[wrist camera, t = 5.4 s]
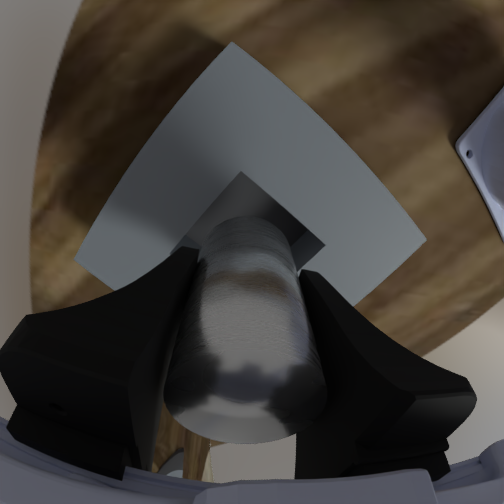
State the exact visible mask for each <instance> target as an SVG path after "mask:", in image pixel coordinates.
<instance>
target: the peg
mask: <svg viewBox="0 0 504 504" xmlns="http://www.w3.org/2000/svg"><path fill="white" fill-rule="evenodd" d="M327 395H328V392H327V387H326V383H325V379H324V375H323V370H322V366H321V362H320V358H319V354H318V350H317V346H316V342H315V338H314V334H313V331H312V327H311V323H310V319H309V315H308V311H307V308H306V304H305V300H304V296H303V293H302V289H301V285H300V282H299V278H298V274H297V271H296V267H295V263H294V260H293V256H292V253H291V249H290V246H289V243H288V241H287V239H286V237H285V235H284V234H283V233H282V232H281V230H279V229H278V228H277V227H276V226H275V225H273V224H272V223H270V222H268V221H266V220H264V219H261V218H257V217H251V216H240V217H234V218H231V219H228V220H225V221H223V222H222V223H220V224H218V225H217V226H216V227H214V228H213V229H212V230H211V231H210V232H209V234H208V235H207V237H206V238H205V240H204V242H203V245H202V248H201V252H200V255H199V258H198V262H197V266H196V269H195V273H194V276H193V280H192V283H191V286H190V289H189V293H188V296H187V300H186V304H185V307H184V311H183V315H182V318H181V322H180V326H179V329H178V333H177V337H176V341H175V345H174V348H173V352H172V356H171V360H170V364H169V368H168V372H167V376H166V380H165V384H164V389H163V398H164V403H165V405H166V408H167V409H168V411H169V413H170V414H171V415H172V416H173V418H174V419H175V420H176V421H177V422H179V423H180V424H181V425H182V426H184V427H185V428H187V429H189V430H190V431H192V432H194V433H196V434H198V435H201V436H203V437H206V438H209V439H212V440H216V441H221V442H226V443H235V444H257V443H265V442H271V441H275V440H279V439H282V438H285V437H289V436H291V435H293V434H296V433H298V432H300V431H301V430H303V429H305V428H306V427H308V426H309V425H310V424H312V423H313V422H314V421H315V420H316V419H317V418H318V417H319V416H320V414H321V413H322V411H323V410H324V408H325V406H326V402H327Z"/></svg>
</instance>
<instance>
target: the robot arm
mask: <svg viewBox="0 0 504 504" xmlns="http://www.w3.org/2000/svg"><path fill="white" fill-rule="evenodd" d="M455 146H456V151H457V153H458V154H459V156H460V158H461V159H462V161H463V163H464V164H465V166H466V168H467V169H468V171H469V173H470V175H471V176H472V178H473V180H474V182H475V184H476V185H477V187H478V189H479V191H480V193H481V195H482V197H483V199H484V201H485V203H486V205H487V207H488V209H489V211H490V213H491V215H492V217H493V219H494V221H495V224H496V226H497V228H498V230H499V233H500V235H501V237H502V240H503V242H504V87H503V88H502V89H501V90H500V92H499V93H498V94H497V95H496V96H495V98H494V99H493V100H492V101H491V102H490V103H489V105H488V106H487V107H486V108H485V109H484V110H483V112H482V113H481V114H480V115H479V116H478V117H477V118H476V120H475V121H474V122H473V123H472V124H471V125H470V126H469V128H468V129H467V130H466V131H465V132H464V133H463V134H462V135H461V136H460V138H459V139H458V140H457V142H456V145H455ZM467 150H468V151H469V154H468V156H466V152H467ZM198 254H199V249H195V248H190V247H185V246H181V247H180V248H178V249H177V250H176V251H175V252H174V253H172V254H171V255H170V256H169V257H168V258H166V259H165V260H164V261H162V262H161V263H160V264H158V265H157V266H156V267H154V268H153V269H152V270H150V271H149V272H147V273H146V274H144V275H143V276H141V277H140V278H138V279H137V280H135V281H133V282H132V283H130V284H128V285H126V286H124V287H122V288H120V289H118V290H116V291H114V292H112V293H109V294H106V295H104V296H101V297H99V298H96V299H94V300H91V301H88V302H85V303H82V304H78V305H75V306H71V307H67V308H63V309H59V310H54V311H48V312H42V313H36V314H29V315H26V316H25V317H24V318H23V319H22V321H21V322H20V323H19V324H18V326H17V327H16V328H15V330H14V331H13V333H12V334H11V335H10V336H9V338H8V339H7V341H6V342H5V344H4V345H3V346H2V348H1V349H0V372H1V375H2V377H3V379H4V381H5V383H6V385H7V387H8V389H9V391H10V392H11V394H12V396H13V398H14V400H15V402H16V403H17V406H16V408H15V410H14V412H13V414H12V416H11V418H10V420H9V421H8V420H6V419H4V418H2V417H0V504H504V439H503V440H500V441H497V442H496V443H493V444H492V445H490V446H489V447H488V448H487V449H485V450H484V451H483V452H482V453H481V454H480V455H479V456H478V457H475V458H472V459H469V460H465V461H462V462H459V463H456V464H452V465H449V464H448V461H447V458H446V455H445V453H444V451H446V450H448V449H449V444H448V441H447V439H446V438H447V437H448V436H450V435H451V434H452V433H453V432H454V431H455V430H456V429H457V428H458V427H459V426H460V425H461V424H462V423H463V422H464V421H465V420H466V419H467V417H469V415H470V414H471V413H472V411H473V409H474V408H475V405H476V401H477V397H476V394H475V392H474V390H473V388H472V387H471V385H470V383H469V381H468V380H467V378H465V377H463V376H461V375H458V374H455V373H453V372H451V371H448V370H446V369H444V368H441V367H439V366H437V365H435V364H433V363H431V362H429V361H427V360H425V359H423V358H421V357H420V356H418V355H416V354H414V353H413V352H411V351H409V350H408V349H406V348H405V347H403V346H401V345H400V344H398V343H397V342H395V341H394V340H392V339H391V338H390V337H388V336H387V335H386V334H384V333H383V332H382V331H380V330H379V329H378V328H377V327H375V326H374V325H373V324H372V323H370V322H369V321H368V320H367V319H366V318H365V317H364V316H363V315H361V314H360V313H359V312H358V311H357V310H356V309H355V308H354V307H353V306H352V305H351V304H350V303H349V302H348V301H347V300H346V299H345V298H344V297H343V296H342V295H341V294H340V293H339V292H338V291H337V290H336V289H335V288H334V287H333V286H332V285H331V284H330V283H329V282H328V281H327V280H326V279H325V278H324V277H323V276H322V275H321V274H320V273H318V272H316V271H311V270H305V269H301V272H300V274H299V277H298V278H299V282H300V285H301V289H302V293H303V296H304V300H305V304H306V308H307V311H308V315H309V319H310V323H311V327H312V331H313V334H314V338H315V342H316V346H317V350H318V354H319V358H320V362H321V366H322V370H323V375H324V379H325V383H326V387H327V392H328V395H327V402H326V406H325V408H324V410H323V411H322V413H321V414H320V416H319V417H318V418H317V419H316V420H315V421H314V422H313V423H312V424H310V425H309V426H308V427H306V428H305V429H303V430H301V431H300V432H298V433H296V464H295V479H293V480H289V479H271V480H239V481H233V482H228V483H222V484H220V483H211V482H204V481H196V480H190V479H184V478H178V477H172V476H167V475H162V474H157V473H153V472H152V465H153V458H154V451H155V445H156V439H157V433H158V427H159V421H160V416H161V410H162V405H163V400H164V398H163V389H164V384H165V380H166V376H167V372H168V368H169V364H170V360H171V356H172V352H173V348H174V345H175V341H176V337H177V333H178V329H179V326H180V322H181V318H182V315H183V311H184V307H185V304H186V300H187V296H188V293H189V289H190V286H191V283H192V280H193V276H194V273H195V269H196V266H197V261H198Z"/></svg>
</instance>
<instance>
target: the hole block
mask: <svg viewBox="0 0 504 504" xmlns="http://www.w3.org/2000/svg"><path fill="white" fill-rule="evenodd" d="M240 216H251V217H257V218H261V219H264V220H266V221H268V222H270V223H272V224H273V225H275V226H276V227H277V228H278V229H279V230H281V232H282V233H283V234H284V235H285V237H286V239H287V241H288V243H289V246H290V249H291V253H292V256H293V260H294V263H295V267H296V271H297V274H298V277H299V274H300V272H301V269H305V270H311V271H316V272H318V273H320V274H321V275H322V276H323V277H324V278H325V279H326V280H327V281H328V282H329V283H330V284H331V285H332V286H333V287H334V288H335V289H336V290H337V291H338V292H339V293H340V294H341V295H342V296H343V297H344V298H345V299H346V300H347V301H348V302H349V303H350V304H351V305H352V306H354V305H356V304H357V303H358V302H359V301H360V300H361V299H363V298H364V297H365V296H366V295H367V294H368V293H370V292H371V291H372V290H373V289H374V288H375V287H377V286H378V285H379V284H380V283H381V282H382V281H383V280H384V279H386V278H387V277H388V276H389V275H390V274H391V273H392V272H393V271H394V270H396V269H397V268H398V267H399V266H400V265H401V264H402V263H403V262H404V261H405V260H406V259H407V258H408V257H410V256H411V255H412V254H413V253H414V252H415V251H416V250H417V249H418V248H419V247H420V246H421V245H422V244H423V243H424V242H425V241H426V240H427V239H426V238H425V236H424V235H423V234H422V232H421V231H420V230H419V228H418V227H417V226H416V224H415V223H414V222H413V221H412V219H411V218H410V217H409V215H408V214H407V213H406V212H405V210H404V209H403V208H402V207H401V205H400V204H399V203H398V202H397V200H396V199H395V198H394V197H393V195H392V194H391V193H390V192H389V191H388V189H387V188H386V187H385V186H384V185H383V184H382V182H381V181H380V180H379V179H378V178H377V177H376V175H375V174H374V173H373V172H372V171H371V170H370V169H369V168H368V166H367V165H366V164H365V163H364V162H363V161H362V160H361V159H360V158H359V156H358V155H357V154H356V153H355V152H354V151H353V150H352V149H351V148H350V147H349V146H348V145H347V144H346V143H345V142H344V141H343V140H342V138H341V137H340V136H339V135H338V134H337V133H336V132H335V131H334V130H333V129H332V128H331V127H330V126H329V125H328V124H327V123H326V122H325V121H324V120H323V119H322V118H321V117H320V116H318V115H317V114H316V113H315V112H314V111H313V110H312V109H311V108H310V107H309V106H308V105H307V104H306V103H305V102H304V101H303V100H302V99H300V98H299V97H298V96H297V95H296V94H295V93H294V92H293V91H292V90H290V89H289V88H288V87H287V86H286V85H285V84H284V83H283V82H281V81H280V80H279V79H278V78H277V77H276V76H274V75H273V74H272V73H271V72H270V71H268V70H267V69H266V68H265V67H264V66H262V65H261V64H260V63H259V62H258V61H256V60H255V59H254V58H253V57H251V56H250V55H249V54H247V53H246V52H245V51H244V50H242V49H241V48H240V47H238V46H237V45H236V44H234V43H233V42H231V43H230V44H229V45H228V46H227V47H226V48H225V49H224V50H223V51H222V52H221V53H220V54H219V55H218V56H217V57H216V58H215V60H214V61H213V62H212V63H211V64H210V65H209V66H208V67H207V68H206V69H205V71H204V72H203V73H202V74H201V75H200V76H199V77H198V78H197V80H196V81H195V82H194V83H193V84H192V85H191V86H190V88H189V89H188V90H187V91H186V92H185V94H184V95H183V96H182V97H181V98H180V100H179V101H178V102H177V103H176V105H175V106H174V107H173V108H172V109H171V111H170V112H169V113H168V115H167V116H166V117H165V118H164V120H163V121H162V122H161V124H160V125H159V126H158V127H157V129H156V130H155V131H154V133H153V134H152V135H151V137H150V138H149V140H148V141H147V142H146V144H145V145H144V146H143V148H142V149H141V151H140V152H139V153H138V155H137V156H136V158H135V159H134V161H133V162H132V163H131V165H130V166H129V168H128V169H127V171H126V172H125V174H124V175H123V177H122V178H121V180H120V181H119V183H118V184H117V186H116V188H115V189H114V191H113V192H112V194H111V195H110V197H109V199H108V200H107V202H106V203H105V205H104V207H103V208H102V210H101V212H100V213H99V215H98V217H97V218H96V220H95V222H94V224H93V225H92V227H91V229H90V231H89V232H88V234H87V236H86V238H85V240H84V241H83V243H82V245H81V247H80V249H79V251H78V252H77V254H76V256H75V258H74V260H75V261H76V262H77V263H79V264H80V265H81V266H83V267H84V268H85V269H86V270H88V271H89V272H90V273H92V274H93V275H94V276H96V277H97V278H98V279H100V280H101V281H102V282H104V283H105V284H106V285H108V286H109V287H110V288H112V289H113V290H115V291H116V290H118V289H120V288H122V287H124V286H126V285H128V284H130V283H132V282H133V281H135V280H137V279H138V278H140V277H141V276H143V275H144V274H146V273H147V272H149V271H150V270H152V269H153V268H154V267H156V266H157V265H158V264H160V263H161V262H162V261H164V260H165V259H166V258H168V257H169V256H170V255H171V254H172V253H174V252H175V251H176V250H177V249H178V248H180V247H181V246H185V247H190V248H195V249H199V254H198V258H199V255H200V252H201V248H202V245H203V242H204V240H205V238H206V237H207V235H208V234H209V232H210V231H211V230H212V229H213V228H214V227H216V226H217V225H218V224H220V223H222V222H223V221H225V220H228V219H231V218H234V217H240ZM197 262H198V261H197Z"/></svg>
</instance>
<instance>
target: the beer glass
mask: <svg viewBox="0 0 504 504" xmlns="http://www.w3.org/2000/svg"><path fill="white" fill-rule="evenodd" d="M210 445H211V444H210V439H209V438H206V437H203V436H201V435H198V434H196V433H194V432H192V431H190V430H189V429H187V428H185V427H184V426H182V425H181V424H180V423H179V422H177V421H176V420H175V419H174V418H173V416H172V415H171V414H170V413H169V411H168V409H167V408H166V405H165V403H164V400H163V405H162V410H161V416H160V421H159V427H158V433H157V439H156V445H155V451H154V458H153V465H152V472H153V473H157V474H162V475H167V476H172V477H178V478H184V479H190V480H196V481H204V482H211V483H214V478H213V471H212V464H211V455H210Z"/></svg>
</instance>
